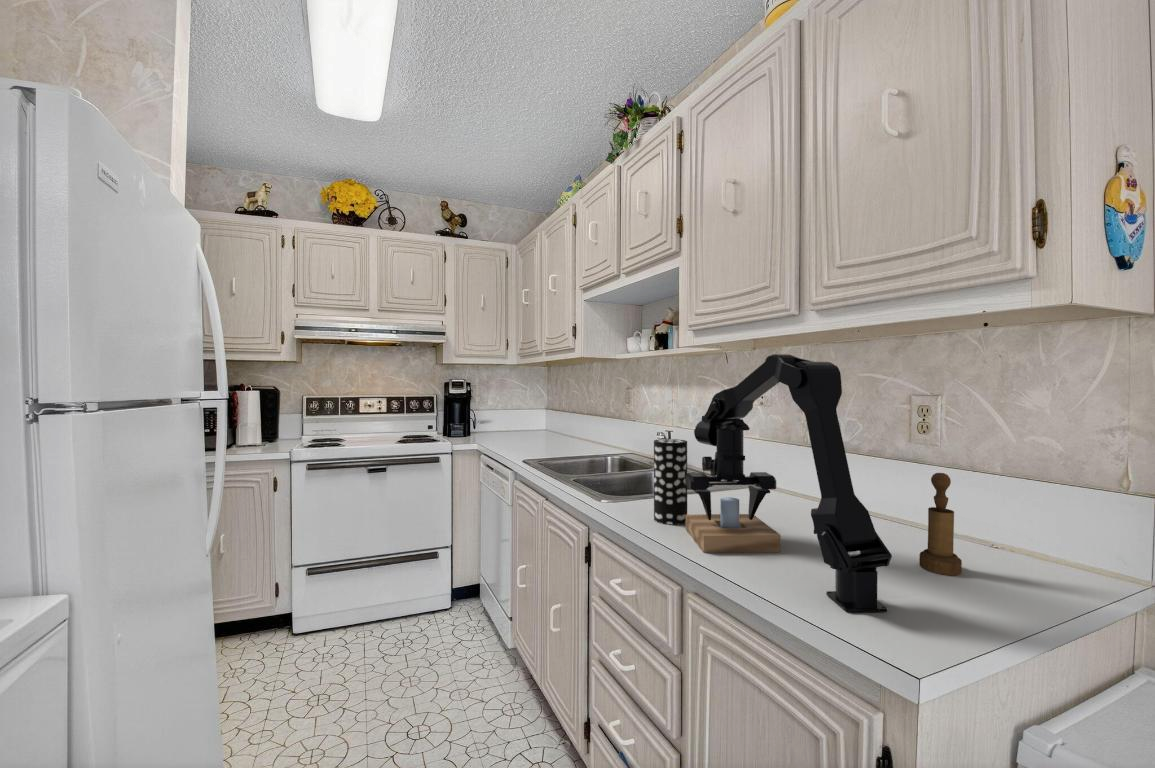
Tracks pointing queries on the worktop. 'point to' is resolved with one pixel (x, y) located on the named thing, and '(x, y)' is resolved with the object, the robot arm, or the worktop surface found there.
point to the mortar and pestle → (940, 533)
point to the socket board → (732, 535)
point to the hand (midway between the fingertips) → (729, 519)
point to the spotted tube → (670, 481)
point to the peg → (729, 512)
